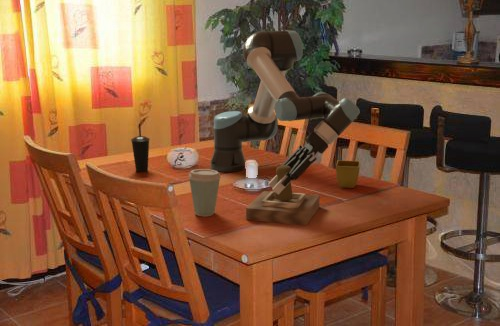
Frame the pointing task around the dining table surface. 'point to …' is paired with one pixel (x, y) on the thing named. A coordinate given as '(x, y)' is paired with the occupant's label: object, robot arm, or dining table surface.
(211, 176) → the disposable coffee cup
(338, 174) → the flower pot
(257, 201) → the walnut stand
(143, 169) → the drinking cup
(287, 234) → the dining table surface
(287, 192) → the pepper mill
